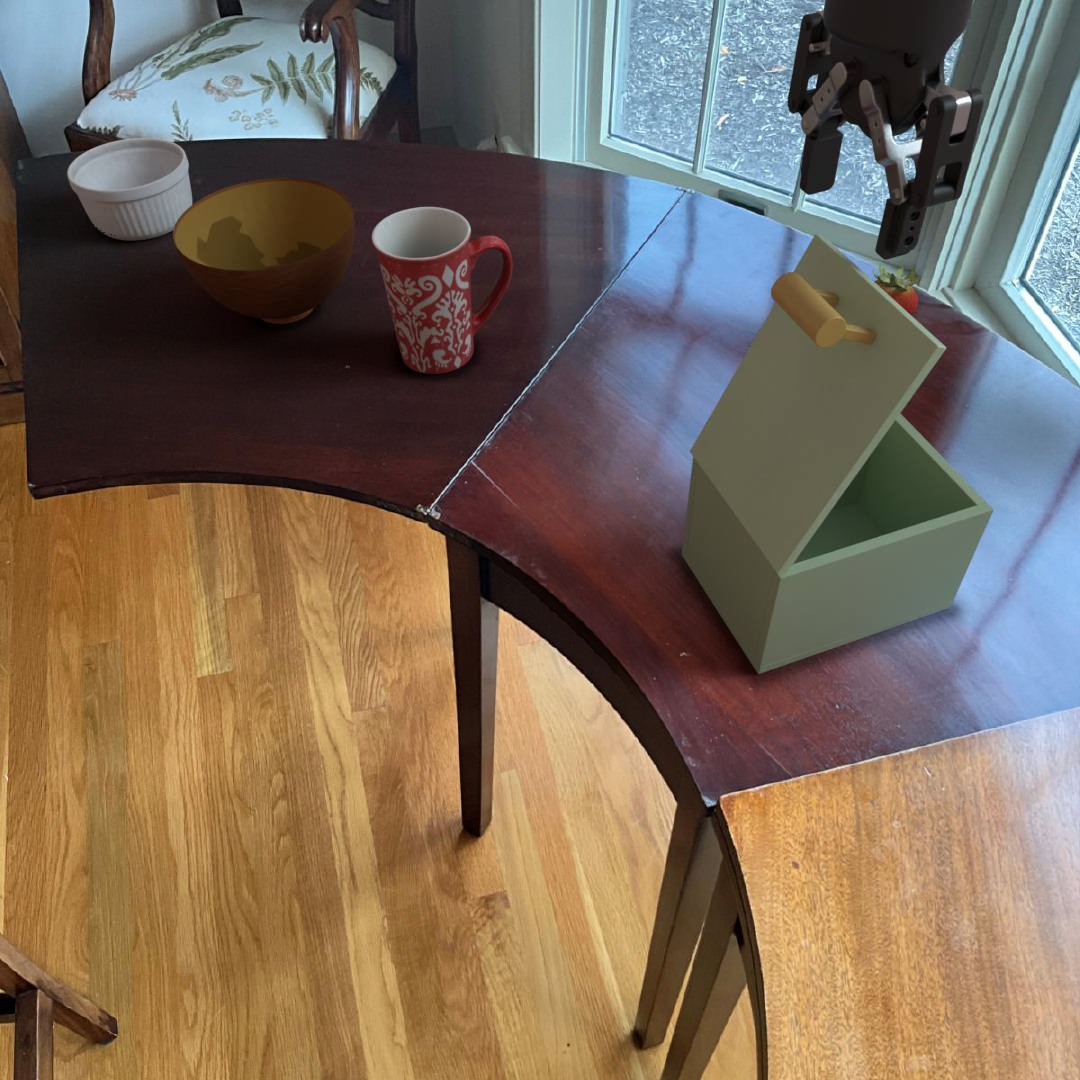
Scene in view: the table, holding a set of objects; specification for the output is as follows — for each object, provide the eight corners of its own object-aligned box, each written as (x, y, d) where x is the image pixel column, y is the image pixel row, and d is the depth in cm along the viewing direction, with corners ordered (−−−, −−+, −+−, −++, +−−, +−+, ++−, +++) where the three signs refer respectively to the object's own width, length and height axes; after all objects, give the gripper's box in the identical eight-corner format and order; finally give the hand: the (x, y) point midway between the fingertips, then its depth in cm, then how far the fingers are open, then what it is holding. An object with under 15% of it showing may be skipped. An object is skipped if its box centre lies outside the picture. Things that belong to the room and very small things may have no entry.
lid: (824, 235, 63) (759, 218, 60) (947, 347, 54) (879, 334, 52) (697, 452, 73) (637, 446, 70) (786, 574, 65) (722, 573, 62)
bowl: (386, 334, 102) (371, 247, 95) (212, 374, 98) (183, 286, 91) (348, 248, 113) (332, 164, 106) (191, 282, 110) (163, 197, 102)
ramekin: (191, 181, 125) (174, 127, 120) (212, 231, 117) (195, 175, 112) (82, 206, 122) (60, 151, 117) (95, 258, 113) (73, 202, 108)
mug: (394, 387, 96) (374, 264, 86) (388, 332, 102) (368, 211, 92) (523, 370, 97) (518, 247, 88) (510, 317, 104) (503, 196, 94)
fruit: (909, 329, 100) (930, 258, 94) (902, 360, 97) (923, 289, 91) (857, 319, 102) (875, 249, 96) (849, 349, 98) (866, 279, 92)
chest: (858, 499, 84) (888, 400, 76) (950, 608, 76) (994, 509, 68) (681, 554, 81) (692, 456, 73) (758, 674, 73) (780, 578, 65)
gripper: (1070, -39, 47) (975, 263, 59) (892, -117, 56) (840, 158, 68) (936, -10, 45) (865, 294, 57) (774, -95, 54) (743, 183, 66)
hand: (852, 220), depth 63 cm, fingers open, 8 cm apart
